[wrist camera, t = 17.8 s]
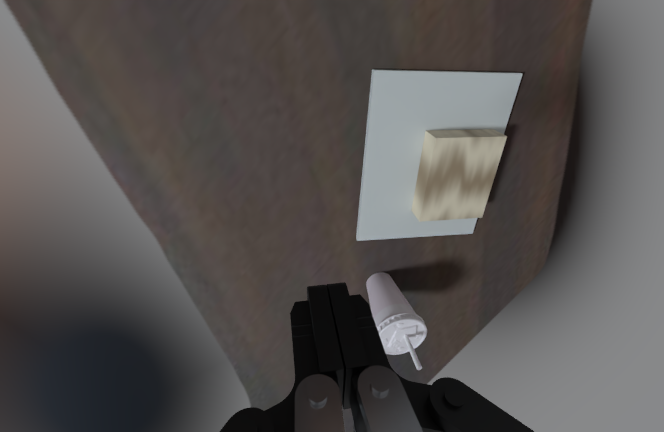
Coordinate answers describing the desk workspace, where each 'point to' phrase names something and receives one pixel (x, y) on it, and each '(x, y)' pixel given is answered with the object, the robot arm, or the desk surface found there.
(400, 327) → the smoothie
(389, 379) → the robot arm
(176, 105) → the desk surface
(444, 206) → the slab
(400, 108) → the mat
